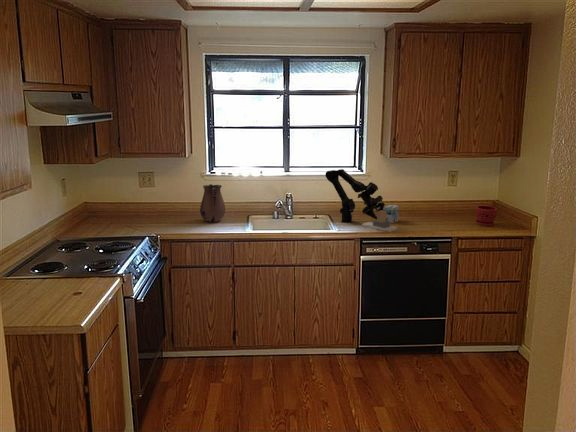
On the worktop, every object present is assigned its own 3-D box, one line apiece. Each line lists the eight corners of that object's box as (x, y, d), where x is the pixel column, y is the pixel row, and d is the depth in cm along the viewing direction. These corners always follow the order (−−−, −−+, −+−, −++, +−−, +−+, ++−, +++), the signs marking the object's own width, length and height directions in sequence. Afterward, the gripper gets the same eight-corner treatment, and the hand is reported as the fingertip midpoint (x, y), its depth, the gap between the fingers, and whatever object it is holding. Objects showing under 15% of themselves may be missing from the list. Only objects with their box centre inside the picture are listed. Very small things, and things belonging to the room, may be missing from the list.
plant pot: (472, 225, 333) (474, 207, 330) (477, 221, 343) (478, 204, 341) (493, 228, 326) (494, 210, 323) (497, 224, 336) (499, 206, 333)
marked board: (361, 226, 331) (362, 224, 331) (368, 224, 337) (369, 221, 336) (390, 231, 316) (390, 229, 316) (397, 229, 322) (397, 227, 322)
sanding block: (372, 225, 326) (373, 210, 324) (378, 224, 330) (378, 209, 328) (384, 228, 320) (385, 212, 318) (389, 226, 324) (390, 211, 322)
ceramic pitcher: (221, 217, 359) (219, 182, 354) (230, 223, 341) (229, 187, 335) (197, 219, 352) (195, 184, 346) (205, 225, 333) (204, 189, 328)
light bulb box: (392, 223, 338) (392, 208, 336) (383, 222, 342) (383, 206, 340) (398, 220, 347) (399, 205, 344) (389, 219, 351) (390, 204, 348)
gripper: (366, 193, 318) (380, 213, 313) (383, 190, 331) (396, 208, 326) (356, 204, 325) (369, 223, 320) (372, 200, 338) (385, 218, 333)
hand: (380, 218), depth 324 cm, fingers open, 9 cm apart
